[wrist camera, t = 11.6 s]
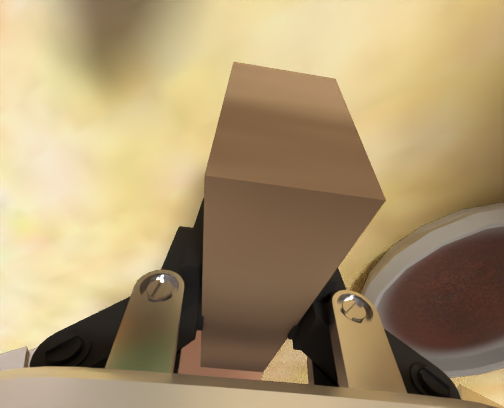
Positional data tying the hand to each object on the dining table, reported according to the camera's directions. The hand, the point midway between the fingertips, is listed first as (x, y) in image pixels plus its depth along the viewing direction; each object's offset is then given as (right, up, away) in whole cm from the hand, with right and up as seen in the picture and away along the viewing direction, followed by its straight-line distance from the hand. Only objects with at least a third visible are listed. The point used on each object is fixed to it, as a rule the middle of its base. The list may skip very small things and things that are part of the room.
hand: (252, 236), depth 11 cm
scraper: (0, -1, +3) cm, 3 cm away
